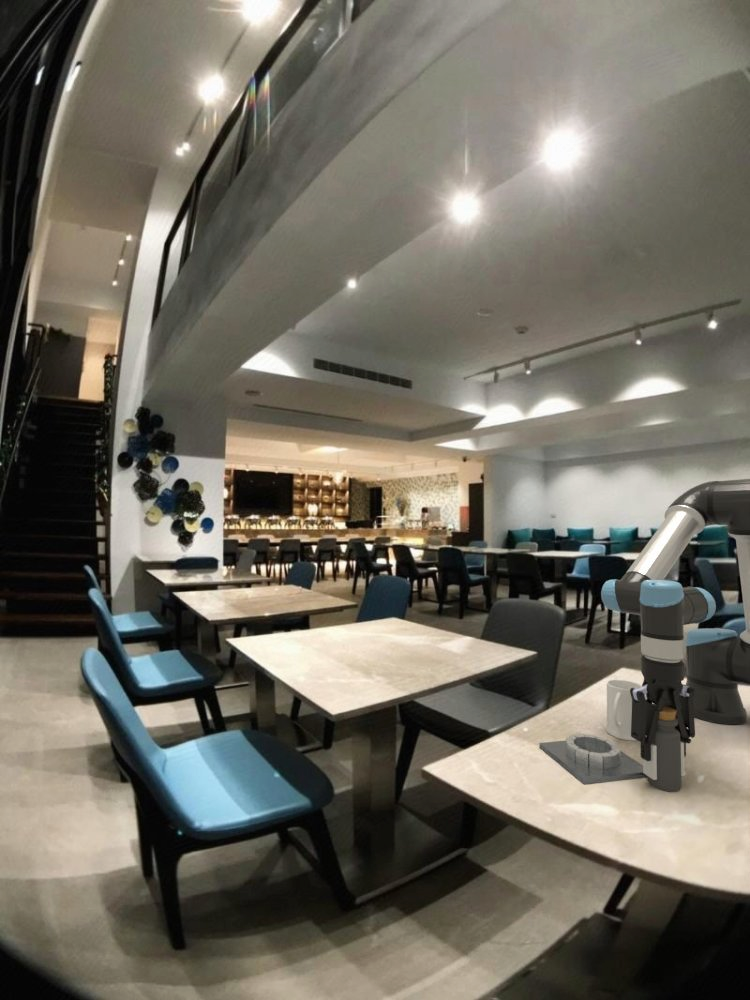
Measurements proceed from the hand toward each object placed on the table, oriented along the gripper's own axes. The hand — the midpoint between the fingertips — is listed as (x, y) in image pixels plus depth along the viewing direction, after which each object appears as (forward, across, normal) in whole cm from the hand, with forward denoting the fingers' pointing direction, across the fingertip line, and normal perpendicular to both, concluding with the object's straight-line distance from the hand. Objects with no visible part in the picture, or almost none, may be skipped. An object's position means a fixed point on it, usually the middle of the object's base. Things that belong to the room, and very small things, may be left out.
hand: (663, 774), depth 96 cm
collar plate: (+2, +8, -11) cm, 14 cm away
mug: (+2, -8, -21) cm, 23 cm away
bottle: (+2, 0, 0) cm, 2 cm away
